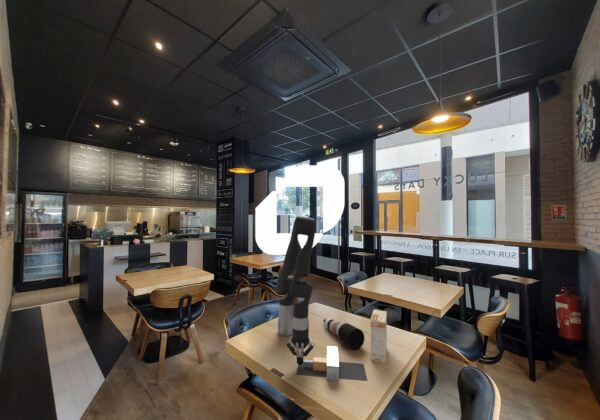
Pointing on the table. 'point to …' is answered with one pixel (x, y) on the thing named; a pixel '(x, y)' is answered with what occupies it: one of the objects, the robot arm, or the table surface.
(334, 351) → the housing
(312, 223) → the robot arm
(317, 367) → the plug
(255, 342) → the table surface
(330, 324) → the black white tapered bottle
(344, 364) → the mat
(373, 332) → the coffeecake box
